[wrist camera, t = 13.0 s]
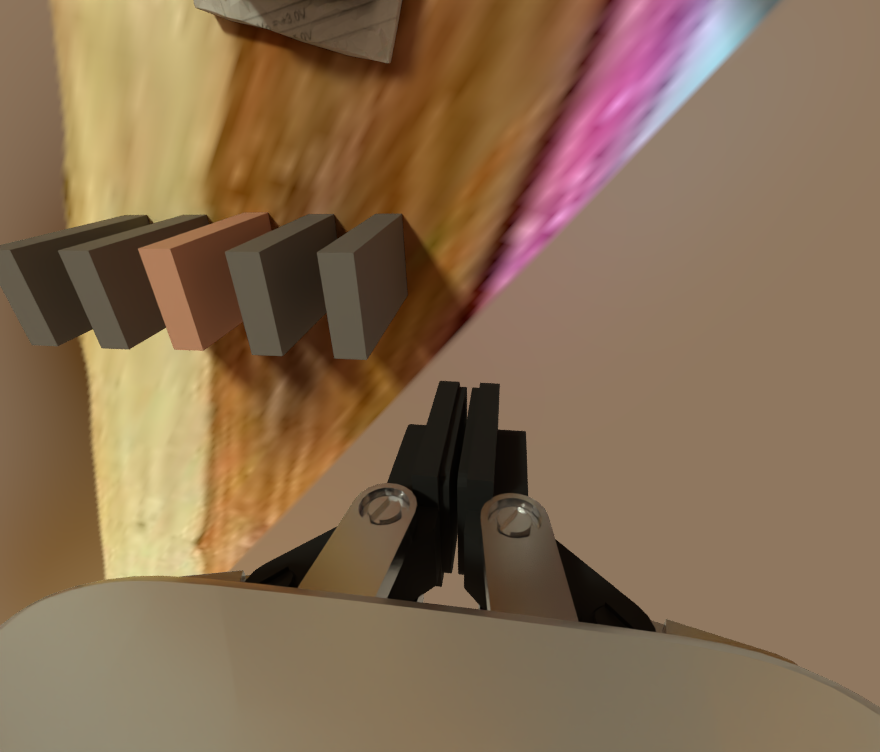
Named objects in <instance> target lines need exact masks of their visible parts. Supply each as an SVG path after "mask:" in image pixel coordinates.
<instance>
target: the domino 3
mask: <svg viewBox="0 0 880 752" xmlns="http://www.w3.org/2000/svg"><path fill="white" fill-rule="evenodd" d="M270 231H272V229H271V224H270V220H269V215H268V213H242V214H239V215H236V216H233V217H230V218H227V219H224V220H221V221H218V222H215V223H212V224H209V225H206V226H203V227H200V228H197V229H194V230H191V231H188V232H186V233H183V234H180V235H177V236H174V237H171V238H168V239H165V240H162V241H159V242H156V243H153V244H150V245H147V246H144V247H141V248H138V250H139V253H140V256H141V259H142V262H143V264H144V267H145V270H146V273H147V275H148V278H149V281H150V284H151V287H152V289H153V292H154V295H155V298H156V300H157V303H158V306H159V309H160V311H161V314H162V317H163V320H164V323H165V325H166V328H167V331H168V334H169V336H170V339H171V342H172V345H173V348H174V349H176V350H200V351H203V350H205V349H206V348H208V347H209V346H210V345H212V344H213V343H214V342H216V341H217V340H218V339H220V338H221V337H223V336H224V335H225V334H227V333H228V332H229V331H231V330H232V329H233V328H235V327H236V326H238V325H239V324H240V323H242V322H243V319H242V315H241V311H240V307H239V304H238V300H237V296H236V292H235V289H234V285H233V281H232V277H231V274H230V270H229V266H228V262H227V259H226V255H225V251H228V250H230V249H232V248H234V247H237V246H239V245H241V244H243V243H245V242H248V241H250V240H252V239H254V238H257V237H259V236H261V235H263V234H266V233H268V232H270Z"/></svg>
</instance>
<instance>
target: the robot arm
mask: <svg viewBox="0 0 880 752" xmlns="http://www.w3.org/2000/svg"><path fill="white" fill-rule="evenodd" d="M499 388H500V384H493V383H492V384H491V383H480V388H472V393H471V399H470V405H469V411H468V417H467V388H466V387H460V383H459V382H451V381H440V382H439V385H438V388H437V392H436V395H435V398H434V402H433V406H432V409H431V412H430V415H429V418H428V422H427V425H414V424H410V425H408V427H407V430H406V432H405V435H404V438H403V441H402V444H401V446H400V449H399V452H398V455H397V457H396V460H395V463H394V465H393V468H392V471H391V474H390V477H389V479H388V482H387V483H384V484H377V485H375V486H372V487H369V488H367V489H366V490H364V491H363V492H361V493H360V494H359V495H358V497H357V498H356V499H355V500H354V501H353V503H352V505H351V506H350V508H349V509H348V511H347V512H346V514H345V515H344V517H343V518H342V520H341V522H340V523H339V525H338V526H337V527H335V528H333V529H331V530H329V531H327V532H326V533H324V534H322V535H320V536H318V537H316V538H314V539H312V540H310V541H308V542H306V543H304V544H302V545H300V546H299V547H297V548H295V549H293V550H291V551H289V552H287V553H285V554H283V555H281V556H279V557H277V558H276V559H273V560H272V561H270V562H268V563H266V564H264V565H263V566H261V567H259V568H258V569H256V570H255V571H254V572H253V573H252V574H251V575H246V576H245V574H244V571H243V570H242V571H232V572H222V573H212V574H202V575H192V576H182V577H173V576H134V577H125V578H116V579H107V580H102V581H98V582H93V583H88V584H84V585H79V586H75V587H72V588H69V589H66V590H63V591H59V592H57V593H54V594H51V595H49V596H46V597H44V598H42V599H41V600H38V601H36V602H34V603H32V604H30V605H29V606H27V607H26V608H24V609H23V610H21V611H19V612H18V613H16V614H15V615H14V616H12V617H11V618H10V619H8V620H7V621H6V622H4V623H3V624H2V625H0V752H880V707H879V706H877V705H875V704H873V703H872V702H870V701H869V700H867V699H865V698H864V697H862V696H860V695H859V694H857V693H855V692H853V691H851V690H849V689H847V688H845V687H843V686H842V685H840V684H838V683H836V682H833V681H831V680H829V679H827V678H825V677H822V676H820V675H818V674H816V673H813V672H811V671H809V670H807V669H804V668H802V667H800V666H798V665H797V664H795V663H794V662H793V661H791V660H788V659H786V658H784V657H782V656H780V655H777V654H775V653H772V652H768V651H765V650H762V649H759V648H756V647H753V646H750V645H746V644H743V643H740V642H737V641H734V640H731V639H727V638H724V637H721V636H718V635H715V634H712V633H708V632H705V631H702V630H699V629H696V628H692V627H689V626H686V625H683V624H680V623H677V622H674V621H670V620H667V619H666V620H665V624H660V623H658V622H654V621H651V620H650V619H649V617H648V616H647V615H646V614H645V613H644V612H643V611H642V609H640V608H639V606H637V605H636V604H635V603H634V602H632V601H631V600H630V599H629V598H628V597H626V596H625V595H624V594H622V593H621V592H620V591H619V590H618V589H616V588H615V587H614V586H613V585H611V584H610V583H609V582H608V581H606V580H605V579H604V578H603V577H602V576H600V575H599V574H598V573H597V572H595V571H594V570H593V569H591V568H590V567H589V566H588V565H587V564H585V563H584V562H583V561H582V560H580V559H579V558H578V557H577V556H575V555H574V554H573V553H572V552H570V551H569V550H568V549H567V548H566V547H564V546H563V545H562V544H560V543H559V542H558V541H557V540H556V539H555V537H554V534H553V530H552V527H551V523H550V520H549V517H548V514H547V512H546V510H545V508H544V507H543V506H541V504H540V503H539V502H537V501H536V500H534V499H532V498H530V497H528V481H527V480H528V479H527V450H526V432H525V431H511V430H498V414H499ZM457 535H458V573H459V574H462V575H464V588H465V589H466V590H467V592H468V593H469V594H470V595H471V596H472V597H473V598H474V599H475V600H476V602H477V603H478V604H479V609H471V608H462V607H453V606H446V605H438V604H429V603H423V599H424V597H423V594H424V593H426V592H427V591H429V590H430V589H432V588H433V587H435V586H440V587H441V586H442V581H443V575H444V573H452V569H453V562H454V556H455V549H456V541H457Z"/></svg>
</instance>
